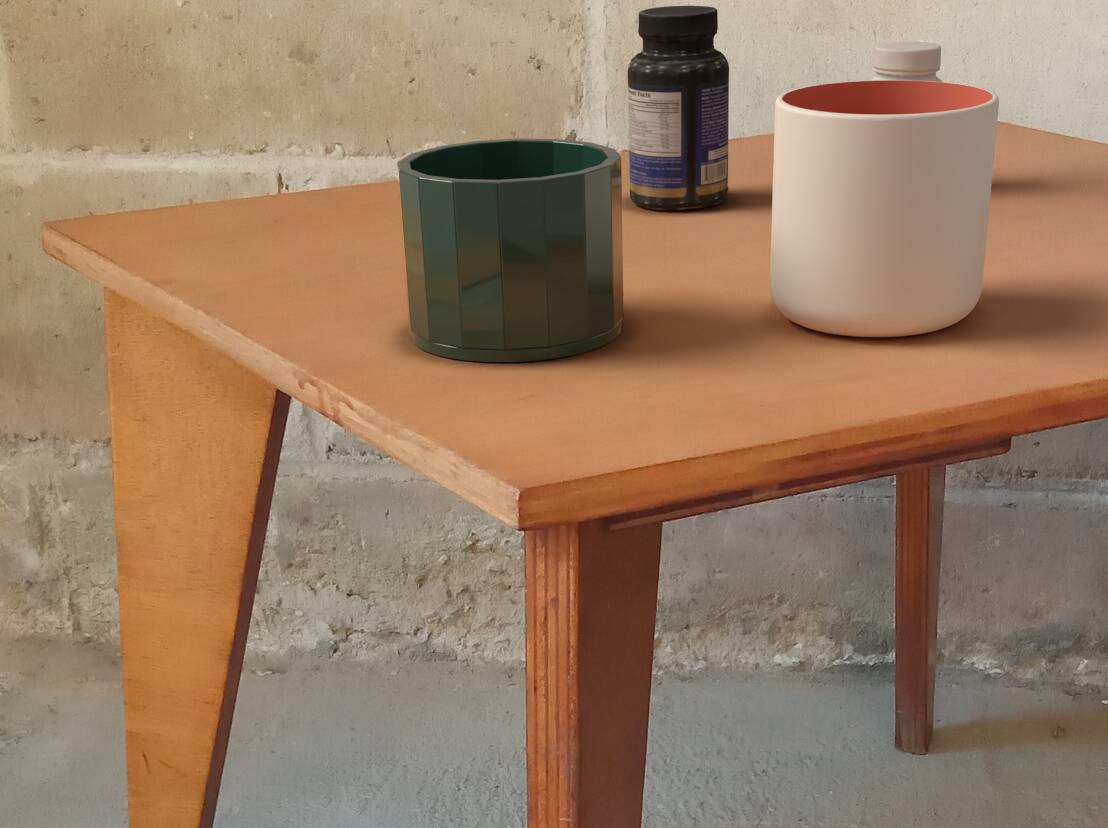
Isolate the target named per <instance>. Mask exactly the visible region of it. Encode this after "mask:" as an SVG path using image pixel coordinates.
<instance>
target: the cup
mask: <svg viewBox="0 0 1108 828" xmlns="http://www.w3.org/2000/svg"><path fill="white" fill-rule="evenodd" d="M774 103H775V104H774V130H773V131H774V132H773V135H774V137H773V164H772V165H773V167H772V168H773V169H772V170H773V171H772V197H771V198H772V199H771V200H772V201H771V228H770V229H771V230H770V232H771V235H770V236H771V237H770V262H769V263H770V264H769V265H770V266H769V270H770V271H769V293H770V297H771V300H772V302H773V303H774V305H775V307H776V308H777V310H778V311H779V312H780V314H782V315H783V317H786V319H788V320H789V321H790V322H793V323H795V324H797V325H799V326H802V327H804V328H807V329H809V330H813V331H817V332H820V333H825V334H831V335H836V336H837V335H838V336H846V337H857V338H858V337H859V338H895V337H906V336H907V337H908V336H916V335H922V334H927V333H928V334H929V333H932V332H936V331H939V330H942V329H946V328H948V327H950V326H953V325H955V324H956V323H958V322H960V321H961V320H963V319H965V318H966V317H967V316H968V315H969V314H970V313H971V312H972V311H973V310H974V309H975V307H976V306H977V304H978V302H979V300H980V298H981V295H982V290H983V280H984V271H985V260H986V259H985V258H986V249H987V238H988V227H989V215H990V207H991V206H990V205H991V194H992V184H993V183H992V182H993V174H994V173H993V172H994V163H995V152H996V151H995V150H996V141H997V140H996V139H997V130H998V129H997V128H998V120H999V119H998V118H999V109H1000V99H999V96H998V95H997V94H996V93H995V92H993V91H991V90H990V89H989V90H988V89H986V88H982V87H978V86H975V85H970V84H962V83H957V82H956V83H955V82H948V81H947V82H946V81H942V82H935V81H917V80H870V79H868V80H851V81H838V82H829V83H821V84H815V85H807V86H802V87H799V88H794V89H790V90H788V91H786V92H783V93H782V94H780V95H778V97H776V99H775V102H774Z"/></svg>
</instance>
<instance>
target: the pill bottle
mask: <svg viewBox="0 0 1108 828" xmlns="http://www.w3.org/2000/svg"><path fill="white" fill-rule="evenodd" d="M718 17H719V14H718V8H716V7H714V6H708V5H707V6H706V5H692V4H691V5H670V6H669V5H668V6H658V7H653V8H652V7H651V8H646V9H642V10H640V11H639V12H638V26H637V27H638V29H637V33H638V35H639V37H640V38H641V39H642V50H641V51H640V52H638V53H636V54H635V55H634V56H633V57H632V58H631V60H630V62H629V64H628V67H627V71H626V72H627V101H628V102H627V103H628V105H627V106H628V107H627V108H628V113H627V114H628V157H629V159H628V161H629V162H628V163H629V167H628V169H629V197H630V200H631V201H632V203H633V204H635V205H636V206H638V207H640V208H644V209H648V210H654V211H663V212H665V211H668V212H670V211H671V212H672V211H673V212H675V211H687V210H698V209H705V208H709V207H713V206H716V205H719V204H721V203H722V202H723V201H725V200H726V198H727V196H728V192H729V117H730V116H729V113H730V112H729V108H730V106H729V105H730V101H729V99H730V95H729V94H730V65H729V61H728V59H727V57H726V56H725V54H723V53H722V52H721V51H719V50H718V49H716V48H715V45H714V44H715V40H714V38H715V36H716V35H717V34H718V30H719V18H718Z"/></svg>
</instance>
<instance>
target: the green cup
mask: <svg viewBox="0 0 1108 828" xmlns="http://www.w3.org/2000/svg"><path fill="white" fill-rule="evenodd" d="M396 171H397V183H398V199H399V210H400V223H401V226H400V227H401V236H402V238H401V239H402V249H403V250H402V251H403V263H404V265H403V266H404V276H405V277H404V278H405V288H406V289H405V290H406V304H407V315H408V324H409V333H410V339H411V342H412V343H413V344H414V345H415V346H416V347H418V348H419V349H421V350H423V351H424V352H427V353H430V354H433V355H436V356H439V357H443V358H446V359H447V358H448V359H452V360H453V359H454V360H460V361H468V362H479V363H523V362H525V363H526V362H527V363H528V362H537V361H548V360H554V359H559V358H561V359H562V358H566V357H571V356H575V355H579V354H583V353H586V352H590V351H593V350H596V349H598V348H601V347H603V346H605V345H607V344H609V343H611V342H612V341H615V340H616V339H617V338H618V337H619V335H620V334H621V332H622V327H623V322H622V321H623V318H624V256H623V255H624V254H623V253H624V252H623V251H624V250H623V246H624V245H623V184H622V183H623V181H622V179H623V177H622V176H623V175H622V174H623V173H622V171H623V169H622V156H621V155H620V154H619V152H618V151H617V150H616V149H615V148H612V147H609V146H605V145H603V144H598V143H594V142H591V141H582V140H581V141H580V140H571V139H564V138H563V139H562V138H502V139H501V138H500V139H486V140H485V139H483V140H474V141H467V142H460V143H452V144H445V145H444V144H443V145H439V146H435V147H431V148H428V149H427V148H426V149H424V150H419V151H416V152H412V153H410V154H409V155H407V156H405V157H403V158H401V159H400V160H398V161H397V162H396Z"/></svg>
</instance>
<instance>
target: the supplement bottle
mask: <svg viewBox="0 0 1108 828" xmlns="http://www.w3.org/2000/svg"><path fill="white" fill-rule="evenodd" d="M941 61H942V45H941V44H938V43H933V42H926V41H925V42H924V41H893V42H884V43H879V44H876V45H875V46H874V49H873V60H872V71H873V72H874V73H875V76H873V77H872V78H870V79H869V80H917V81H935V82H943V80H942V79H941V78H940V77H938V76H937V74H936V73H938V72H939V71H941V64H942V63H941Z"/></svg>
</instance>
